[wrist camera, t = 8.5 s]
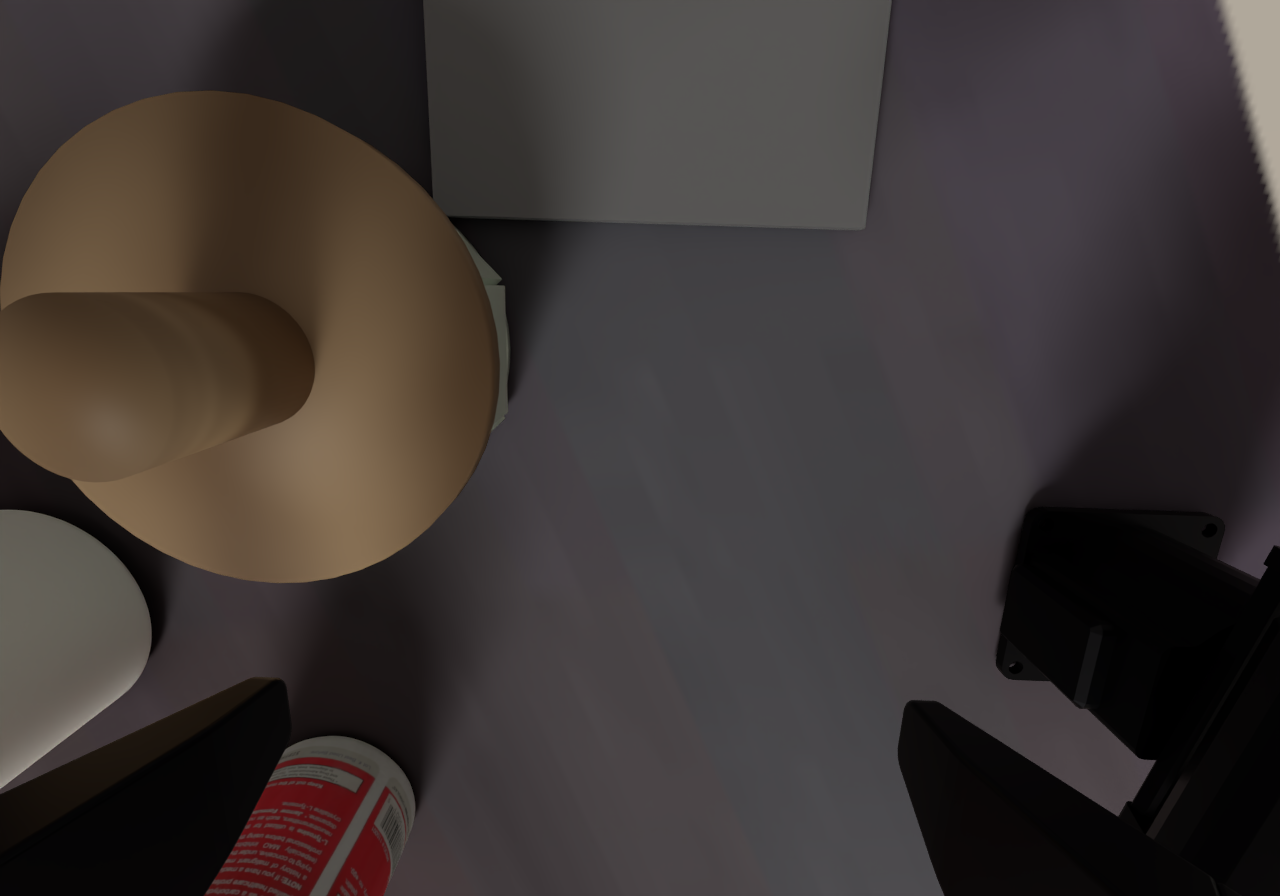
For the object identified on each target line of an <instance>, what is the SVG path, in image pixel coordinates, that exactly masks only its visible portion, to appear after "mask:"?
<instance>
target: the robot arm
mask: <svg viewBox="0 0 1280 896" xmlns="http://www.w3.org/2000/svg"><path fill="white" fill-rule="evenodd" d="M1044 518H1046V523H1045V524H1044V525H1043V526H1042V527H1039V526H1038V525H1039V523H1040V521H1041V520H1042V519H1044ZM1206 525H1207V527H1206V529H1205V530H1204V531H1203V532H1202V529H1203V528H1204V526H1206ZM1224 531H1225V525H1224V522H1223V521H1222V520H1221V519H1220V518H1218V517H1216V516H1213V515H1211V514H1208V513H1203V512H1176V511H1147V510H1118V509H1089V508H1059V507H1038V508H1034V509H1032V510H1031V511H1030V512H1029V513H1028V514H1027V515H1026V517H1025V519H1024V524H1023V529H1022V534H1021V539H1020V544H1019V549H1018V554H1017V558H1016V563H1015V567H1014V568H1013V570H1012V573H1011V578H1010V583H1009V588H1008V593H1007V598H1006V603H1005V608H1004V613H1003V618H1002V623H1001V628H1000V632H1001V638H1000V643H999V648H998V653H997V658H996V666H997V668H998V670H999V671H1000V672H1001V673H1002V674H1003V675H1004V676H1005V677H1006V678H1008V679H1012V680H1031V681H1051V682H1052V683H1053V684H1054V685H1055V686H1056V687H1057V688H1058V689H1059V690H1060V691H1061V692H1062V693H1063V694H1064V695H1065V696H1066V697H1067V698H1068V699H1069V700H1070V701H1071V702H1072V703H1073V704H1074V705H1075V706H1076V707H1078V708H1080V709H1088V710H1089V711H1090V712H1091V713H1092V714H1093V715H1094V716H1095V717H1096V718H1097V719H1098V720H1099V721H1100V722H1101V723H1102V724H1103V725H1105V726H1106V727H1107V728H1108V729H1109V730H1110V731H1111V732H1112V733H1113V734H1114V735H1115V736H1116V737H1117V738H1118V739H1119V740H1120V741H1121V742H1122V743H1123V744H1124V745H1126V746H1127V747H1128V748H1129V749H1130V750H1131V751H1132V752H1133V753H1134V754H1135V755H1136V756H1137V757H1138V758H1140V759H1144V760H1156V762H1155V763H1154V765H1153V767H1152V769H1151V770H1150V772H1149V774H1148V776H1147V777H1146V779H1145V781H1144V782H1143V784H1142V786H1141V788H1140V789H1139V791H1138V793H1137V795H1136V796H1135V798H1134V800H1133V802H1131V801H1127V802H1126V804H1125V806H1124V808H1123V809H1122V811H1121V813H1120V815H1119V816H1118V817H1117V816H1116V815H1114V814H1113V813H1111V812H1110V811H1108V810H1107V809H1105V808H1103V807H1102V806H1100V805H1099V804H1097V803H1096V802H1094V801H1092V800H1091V799H1089V798H1088V797H1086V796H1085V795H1083V794H1082V793H1080V792H1078V791H1077V790H1075V789H1074V788H1072V787H1071V786H1069V785H1067V784H1066V783H1064V782H1063V781H1061V780H1060V779H1058V778H1056V777H1055V776H1053V775H1052V774H1050V773H1049V772H1047V771H1046V770H1044V769H1042V768H1041V767H1039V766H1038V765H1036V764H1035V763H1033V762H1031V761H1030V760H1028V759H1027V758H1025V757H1024V756H1022V755H1021V754H1019V753H1017V752H1016V751H1014V750H1013V749H1011V748H1010V747H1008V746H1006V745H1005V744H1003V743H1002V742H1000V741H999V740H997V739H996V738H994V737H992V736H991V735H989V734H988V733H986V732H985V731H983V730H981V729H980V728H978V727H977V726H975V725H974V724H972V723H971V722H969V721H967V720H966V719H964V718H963V717H961V716H960V715H958V714H956V713H955V712H953V711H952V710H950V709H949V708H947V707H946V706H944V705H942V704H941V703H939V702H936V701H922V700H911V701H909V702H908V703H907V704H906V706H905V708H904V712H903V718H902V725H901V731H900V737H899V743H898V761H899V766H900V769H901V772H902V775H903V778H904V781H905V784H906V787H907V790H908V793H909V796H910V799H911V802H912V805H913V808H914V811H915V814H916V817H917V820H918V823H919V826H920V829H921V832H922V836H923V839H924V842H925V845H926V848H927V851H928V854H929V857H930V860H931V862H932V865H933V868H934V871H935V874H936V876H937V879H938V881H939V884H940V886H941V889H942V891H943V893H944V896H1280V547H1279V546H1275V545H1274V546H1273V548H1272V550H1271V552H1270V553H1269V555H1268V557H1267V559H1266V560H1265V562H1264V565H1266V566H1268V568H1267V569H1266V571H1265V573H1264V575H1263V576H1262V578H1261V580H1260V579H1258V578H1256V577H1254V576H1251V575H1249V574H1247V573H1245V572H1243V571H1241V570H1239V569H1237V568H1234V567H1232V566H1230V565H1228V564H1226V563H1224V562H1222V561H1220V560H1217V555H1218V552H1219V548H1220V545H1221V542H1222V538H1223V535H1224ZM1013 662H1016V664H1015V665H1014V666H1012V667H1009V666H1010V664H1012V663H1013ZM290 736H291V717H290V710H289V702H288V695H287V688H286V684H285V683H284V681H283V680H282V679H280V678H268V677H253V678H250V679H247V680H245V681H243V682H241V683H239V684H237V685H234V686H232V687H230V688H228V689H226V690H224V691H221V692H219V693H217V694H215V695H213V696H211V697H209V698H206V699H204V700H202V701H200V702H198V703H196V704H194V705H191V706H189V707H187V708H185V709H183V710H181V711H178V712H176V713H174V714H172V715H170V716H168V717H166V718H163V719H161V720H159V721H157V722H155V723H153V724H151V725H148V726H146V727H144V728H142V729H140V730H138V731H135V732H133V733H131V734H129V735H127V736H125V737H123V738H120V739H118V740H116V741H114V742H112V743H110V744H108V745H105V746H103V747H101V748H99V749H97V750H95V751H92V752H90V753H88V754H86V755H84V756H82V757H80V758H77V759H75V760H73V761H71V762H69V763H67V764H65V765H62V766H60V767H58V768H56V769H54V770H52V771H49V772H47V773H45V774H43V775H41V776H39V777H37V778H34V779H32V780H30V781H28V782H26V783H24V784H22V785H19V786H17V787H15V788H13V789H11V790H9V791H6V792H4V793H2V794H0V896H204V895H205V894H206V892H207V890H208V889H209V887H210V886H211V884H212V883H213V881H214V879H215V878H216V876H217V875H218V873H219V872H220V870H221V868H222V867H223V865H224V863H225V862H226V860H227V858H228V857H229V855H230V853H231V852H232V850H233V848H234V846H235V845H236V843H237V841H238V839H239V837H240V836H241V834H242V832H243V830H244V828H245V826H246V824H247V822H248V820H249V818H250V816H251V815H252V813H253V811H254V809H255V807H256V805H257V803H258V801H259V799H260V797H261V795H262V793H263V791H264V789H265V788H266V786H267V784H268V782H269V780H270V778H271V776H272V774H273V772H274V770H275V768H276V766H277V764H278V762H279V761H280V759H281V757H282V755H283V753H284V751H285V749H286V747H287V745H288V742H289V739H290Z"/></svg>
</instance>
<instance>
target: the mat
mask: <svg viewBox="0 0 1280 896" xmlns="http://www.w3.org/2000/svg"><path fill="white" fill-rule="evenodd" d="M891 3H892V0H423V8H424V28H425V48H426V68H427V88H428V108H429V128H430V148H431V168H432V188H433V200H434V201H435V202H436V203H437V205H438V206H439V207H440V208H441V209H442V210H443V212H444V213H445V214H446V215H447V217H449V218H481V219H512V220H544V221H575V222H607V223H638V224H670V225H701V226H733V227H764V228H796V229H827V230H862V229H865V225H866V217H867V208H868V200H869V191H870V183H871V174H872V166H873V157H874V148H875V140H876V131H877V123H878V114H879V106H880V97H881V89H882V80H883V71H884V63H885V54H886V46H887V37H888V29H889V20H890V12H891Z"/></svg>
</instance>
